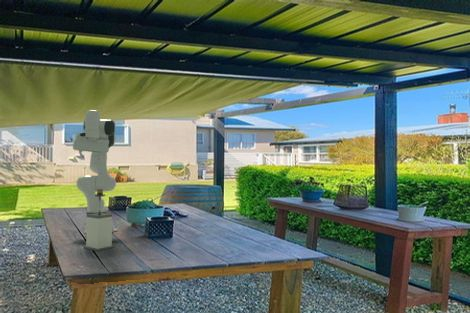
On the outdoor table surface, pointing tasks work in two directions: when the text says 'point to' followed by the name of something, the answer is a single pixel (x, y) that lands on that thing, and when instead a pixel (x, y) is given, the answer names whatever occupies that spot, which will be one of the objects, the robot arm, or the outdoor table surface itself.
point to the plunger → (100, 194)
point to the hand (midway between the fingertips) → (90, 159)
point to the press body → (99, 232)
